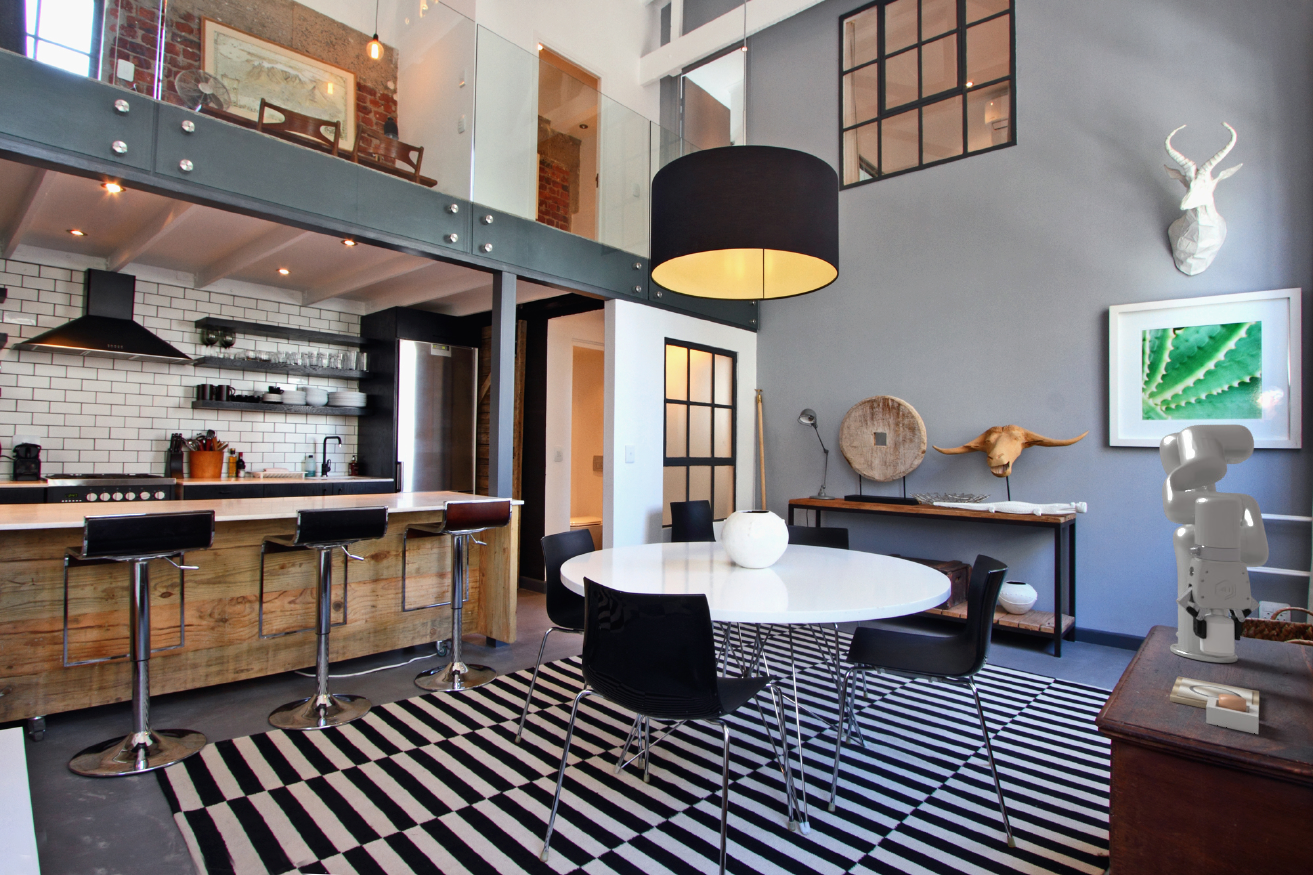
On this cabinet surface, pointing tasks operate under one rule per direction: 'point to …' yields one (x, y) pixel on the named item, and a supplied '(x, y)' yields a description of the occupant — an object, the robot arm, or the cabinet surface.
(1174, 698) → the cream flat rectangular panel
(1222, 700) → the button
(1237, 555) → the robot arm
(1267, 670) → the cabinet surface
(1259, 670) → the cabinet surface
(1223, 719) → the button housing
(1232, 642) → the eye dropper bottle
